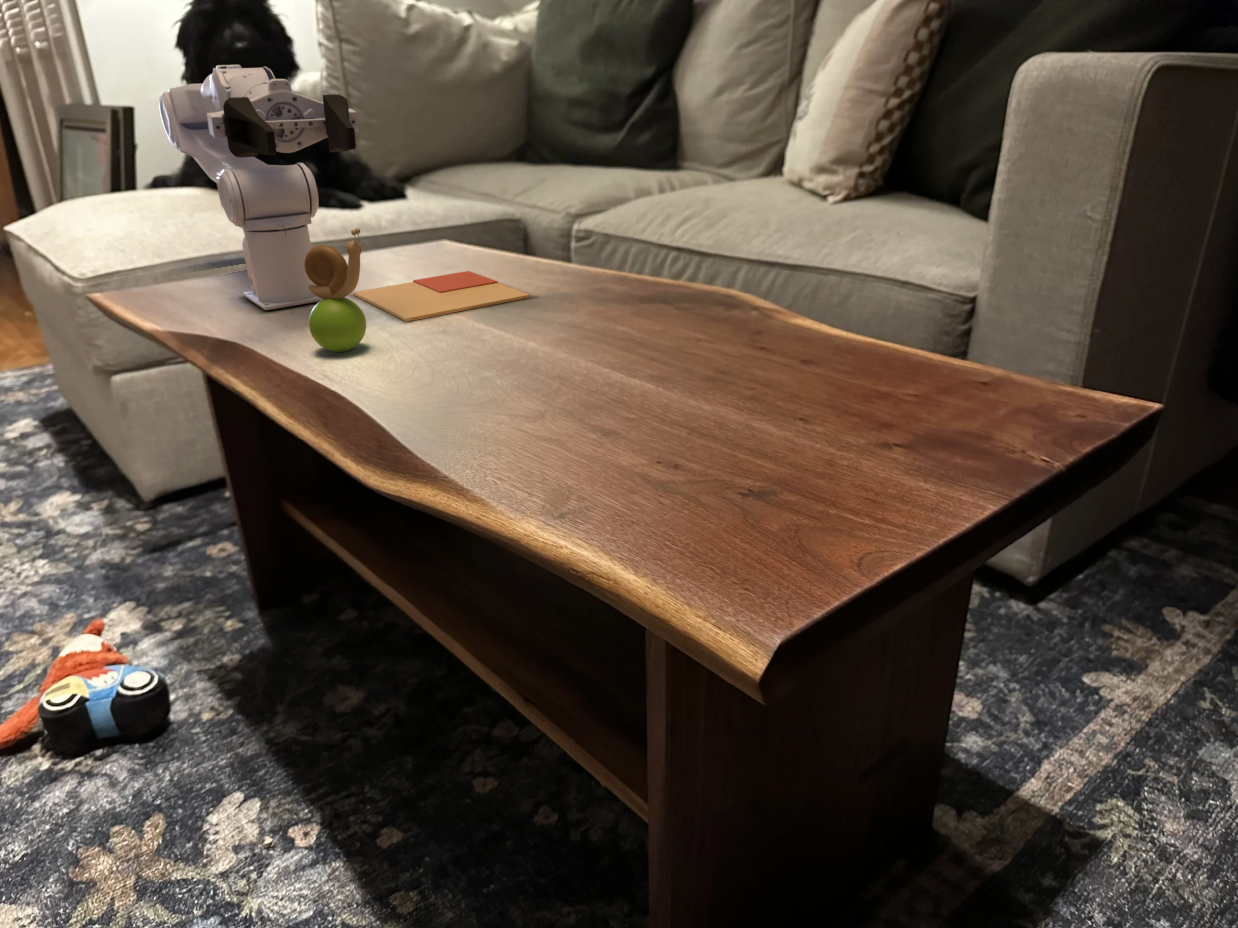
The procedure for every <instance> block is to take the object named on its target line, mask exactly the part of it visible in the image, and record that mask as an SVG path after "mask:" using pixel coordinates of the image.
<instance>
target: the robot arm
mask: <svg viewBox="0 0 1238 928" xmlns="http://www.w3.org/2000/svg"><path fill="white" fill-rule="evenodd" d="M158 108H159V114H160V118H161V122H162V126H163V128H164V131H165V134H166V136H167V139H168V141H169V143H170V144H171V145H172V147H173V148H175V149H176V150H178V151H179V152H180V153H182V154H185V155H187V156H190V157H192V158H193V159H194V161H195V162H196V163H197V164H198V165H199V167H200V168H201V169H202V170H203V172H204V173H205V174H206V176H208V178H209V179H210V180H212V181H213V182H214V183H216V187H217V193H218V198H219V202H220V206H221V207H222V209H223V210H224V213H225V216H226V217H227V219H228V221H229V222H230V223H232V224H233V225H234V226H235V227H238V228H240V229H242V230H243V237H242V243H241V247H242V252H243V256H244V257H243V258H244V262H245V266H246V267H245V268H246V271H247V276H248V282H249V287H250V290H249V291H244V292H243V297H245V298H246V299H248V300H249V301H250V302H253V303H254V304H255V305H256V306H258V307H259V308H261V309H262V310H264V311H270V310H277V309H283V308H289V307H294V306H299V305H305V304H311V303H318V302H319V301H321V300H323V299H322V298H319V297H317V296H315V295H314V294H313V293H312V292H311V291H310V290H309V289H308V286H309V285H314V286H316V285H315V284H314V283H313V282H312V281H311V280H310V279H309V278H308V276H307V274H306V271H305V267H304V260H305V257H306V255H307V253H308V252H309V250H311V249H312V244H311V237H310V232H309V226H308V225H311V224H312V223H313V222H312V219H313V218H314V217H315V216H316V214H317V212H318V210H319V206H320V205H319V204H320V203H319V192H318V186H317V183H316V180H315V176H314V175H313V172H312V171H311V169H310V168H309V167H308V166H307V165H306V164H305V163H304V162H296V163H295V164H289V165H288V164H287V165H286V164H285V165H283V164H282V165H280V164H267V163H265V162H264V161H262V160H260V159H258V158H257V157H258V156H259V155H267V156H268V155H269V156H270V155H277V154H278V153H281V154H282V153H283V154H291V153H295V152H297V151H300V150H303V149H304V148H305V149H306V147H310V146H311V145H314V144H317V143H319V142H320V141H322V140H324V139H327V141H328V151H329V152H328V153H341V152H342V153H344V152H348V151H353V150H356V149H357V146H356V145H357V144H356V133H358V132H359V117H358V111H356V110H355V109H352V108H349V101H348V98H346V97H345V96H343V95H340V94H322V101H320V100H317V99H315V98H311V97H309V96H306V95H302V94H300V93H297V92H295V91H293V90H292V84H291V81H289V80H288V79H285V78H276V77H275V75H274V73H273V71H272V70H271V69H270V68H269V67H267V66H262V67H242V66H241V64H221V65H220V64H218V65H216V66H215V67H213V68H212V73H210V74H209V75H208V76H206V78H205V79H204V80H203V83H190V84H185V85H180V86H175V87H170V88H168V90H167V91H162V92H161V94H160V95H159V96H158ZM277 152H278V153H277Z"/></svg>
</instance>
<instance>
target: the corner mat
mask: <svg viewBox="0 0 1238 928" xmlns="http://www.w3.org/2000/svg"><path fill="white" fill-rule="evenodd" d="M352 294H353V296H355V297H357V298H359V299H360V300H363V301H364V302H366V303H369V304H370V305H373V306H374V307H376V308H378V309H380V310H382V311H384V312H386V313H388V314H390V315H392V316H394V317H396V318H397V319H400V320H402V321H404V322H413V321H417V320H422V319H427V318H433V317H438V316H443V315H449V314H454V313H458V312H463V311H470V310H473V309H479V308H485V307H489V306H495V305H500V304H506V303H510V302H515V301H521V300H526V299H530V298H531V294H530V293H527V292H524V291H521V290H519V289H516V288H512V287H510V286H507V285H505V284H502V283H499V282H498V281H497V280H495V279H492V278H490V277H487V276H484V275H481V274H478V273H476V272H472V271H469V270H466V271H459V272H454V273H449V274H448V273H447V274H442V275H436V276H430V277H424V278H419V279H413V280H412V281H409V282H404V283H398V284H393V285H387V286H386V285H385V286H380V287H374V288H369V289H363V290H357V291H353V292H352Z"/></svg>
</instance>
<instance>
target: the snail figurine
mask: <svg viewBox="0 0 1238 928" xmlns="http://www.w3.org/2000/svg"><path fill="white" fill-rule="evenodd" d="M360 233H361V229H360V228H358V227H356V228H355V229H351V230H350V234H351V235H352V236H353V237H354V240H350V241H349V242H348V243H347V244H346V252H347V255H348V258H347V261H346V259H345V257H344V256H343V255H342V253H341V252H340V251H339V250H338V249H335V248H334V247H332V246H329V245H322V244H321V245H316V246H314V247H311V250H309V252H308V253H307V255H306V257H305V260H304V267H305V271H306V274H307V276H308V278H309V279H310V280H311V281H312V282H313V283H314V284H315V285H316V286H314V285H309V286H308V289H309V290H310V291H311V292H312V293H313V294H314V295H315V296H317V297H319V298H322V299H323V300H321V301H318V302H316V304H315V305H314V306H313V307H312V309H311V310H310V313H309V316H308V329H309V332H310V335H311V337H312V338H313V340H314V342H316V343H317V344H318V345H319V346H320V347H321V348H323V349H326V350H328V351H332V352H336V353H339V352H341V353H342V352H346V351H347V352H348V351H350V350H353V349H354V348H356V347H357V346H358V345H360V343H361V342H362V340H363V339H364V337H365V334H366V332H367V319H366V315H365V314H364V311H363V310H362V309H361V307H360V306H359V305H358V304H357V303H356V302H355V301H353V300H351V299H350V298H347V297H348V296H349V295H351V294H353V292H355V290H356V288H357V286H358V283H359V279H360V273H361V253H362V249H363V248H362V244H361V243H360V235H359V234H360ZM356 236H357V237H358V238H357V237H356ZM357 239H358V240H357Z"/></svg>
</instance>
